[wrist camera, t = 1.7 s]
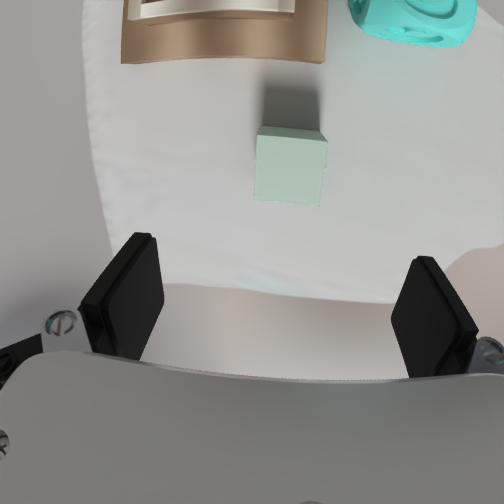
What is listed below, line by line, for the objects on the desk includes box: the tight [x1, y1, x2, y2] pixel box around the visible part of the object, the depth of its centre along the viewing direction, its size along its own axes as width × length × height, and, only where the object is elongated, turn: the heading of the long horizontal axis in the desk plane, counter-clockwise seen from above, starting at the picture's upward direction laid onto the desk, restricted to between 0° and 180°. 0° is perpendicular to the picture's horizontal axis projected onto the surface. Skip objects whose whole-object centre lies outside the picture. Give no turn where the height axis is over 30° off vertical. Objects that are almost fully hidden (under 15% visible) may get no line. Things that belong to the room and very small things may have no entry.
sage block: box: [254, 126, 328, 206], centre depth 24 cm, size 5×5×5 cm
